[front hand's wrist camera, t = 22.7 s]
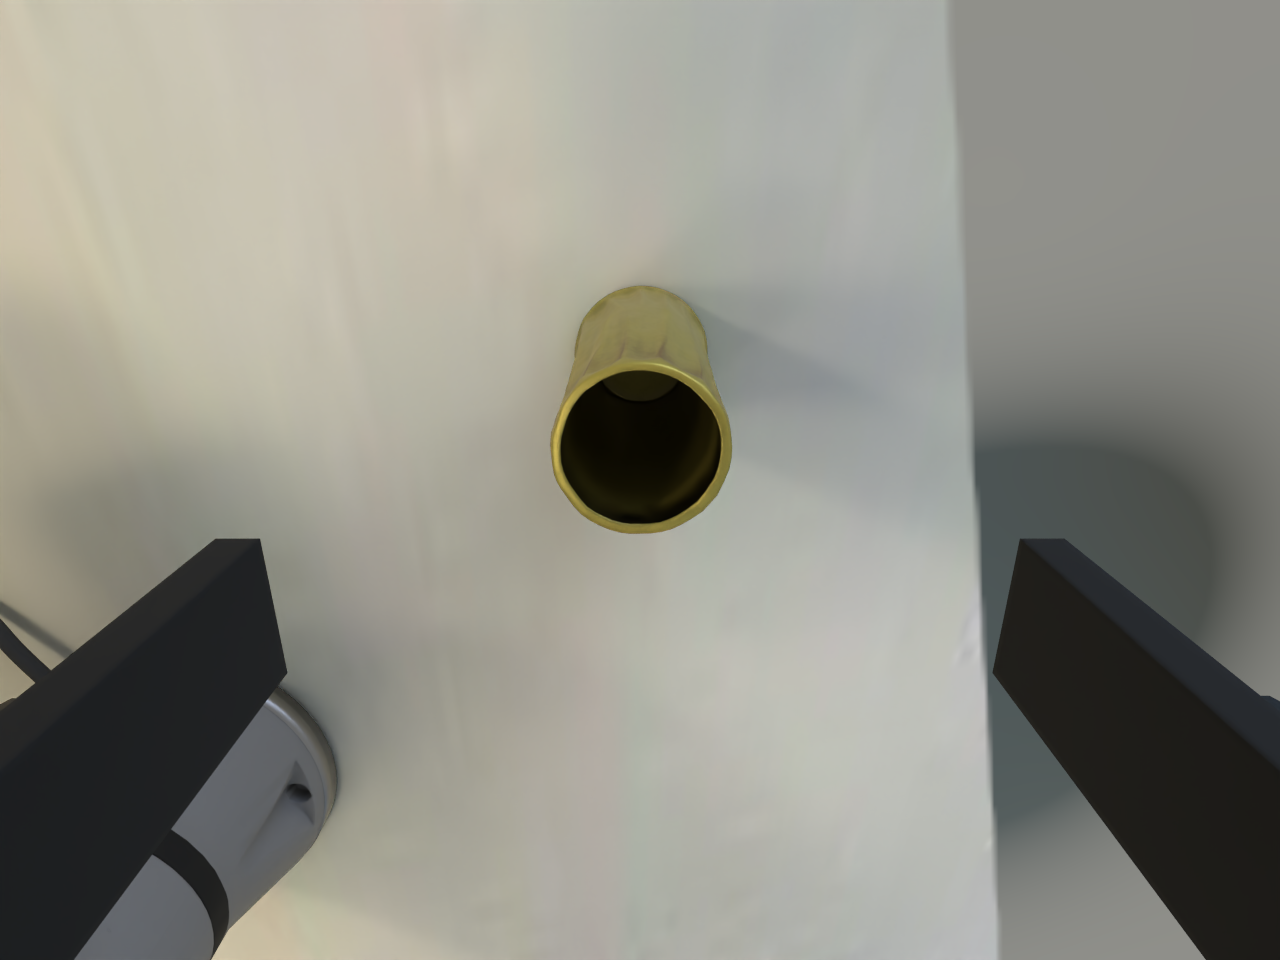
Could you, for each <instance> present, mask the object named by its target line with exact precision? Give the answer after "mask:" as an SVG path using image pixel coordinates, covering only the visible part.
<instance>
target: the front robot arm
mask: <svg viewBox="0 0 1280 960" xmlns="http://www.w3.org/2000/svg"><path fill="white" fill-rule="evenodd" d="M0 649H1V650H2V651H3V652H4V653H5V654H6V655H7V656H8V657H9V658H10V659H11V660H12V661H13V662H14V663H15V664H16V665H17V666H18V667H19V668H20V669H21V670H22V671H23V672H24V673H26V674H27V675H28V676H29V677H30V678H31V679H32V680H33V681H34V682H35V684H34V685H32V686H31V687H30V688H29V689H27V690H26V691H25V692H24V693H22V694H21V695H20V696H19V697H18V698H11V699H10V700H8V701H6V702H4V703H2V704H0V960H211V959H212V957H213V955H214V954H215V952H216V950H217V948H218V947H219V945H220V943H221V941H222V940H223V938H224V936H225V935H226V933H227V931H228V930H229V928H230V927H232V926H233V925H234V924H235V923H236V922H237V921H238V920H239V919H240V918H241V917H242V916H243V915H244V914H245V913H246V912H247V911H248V910H249V909H250V908H251V907H252V906H253V905H254V904H255V903H256V902H257V901H258V900H259V899H260V898H261V897H262V896H263V895H264V894H266V893H267V892H268V891H269V890H270V889H271V888H272V887H273V886H274V885H275V884H276V883H277V882H278V881H279V880H280V879H281V878H282V877H283V876H284V875H285V874H286V873H287V872H288V871H289V870H290V869H291V868H292V867H293V866H294V865H295V864H296V863H297V862H298V861H299V860H300V859H301V858H302V857H303V856H304V854H305V853H306V852H307V851H308V850H309V849H310V848H311V846H312V845H313V843H314V842H315V840H316V839H317V837H318V835H319V833H320V831H321V829H322V827H323V825H324V823H325V821H326V819H327V817H328V815H329V813H330V811H331V809H332V806H333V803H334V800H335V795H336V786H337V776H336V768H335V763H334V759H333V755H332V752H331V749H330V747H329V745H328V743H327V740H326V739H325V737H324V735H323V733H322V732H321V730H320V728H319V727H318V726H317V724H316V723H315V721H314V720H313V719H312V718H311V716H310V715H309V714H308V713H307V712H306V711H305V710H304V709H303V708H302V707H301V706H300V705H299V704H298V703H297V702H296V701H295V700H294V699H293V698H292V697H290V696H289V695H288V694H287V693H286V692H284V691H283V690H281V689H280V688H278V687H277V686H278V685H279V683H280V682H281V681H282V679H283V678H284V677H285V675H286V674H287V668H286V663H285V659H284V654H283V649H282V644H281V639H280V634H279V629H278V624H277V619H276V615H275V610H274V605H273V600H272V595H271V590H270V585H269V580H268V576H267V571H266V566H265V561H264V556H263V551H262V546H261V541H260V539H215V540H213V541H212V542H211V543H210V544H208V545H207V546H206V547H205V548H203V549H202V550H201V551H200V552H198V553H197V554H196V555H195V556H193V557H192V558H191V559H190V560H188V561H187V562H186V563H185V564H183V565H182V566H181V567H180V568H178V569H177V570H176V571H175V572H173V573H172V574H171V575H170V576H168V577H167V578H166V579H165V580H164V581H162V582H161V583H160V584H159V585H157V586H156V587H155V588H154V589H152V590H151V591H150V592H149V593H147V594H146V595H145V596H144V597H142V598H141V599H140V600H139V601H137V602H136V603H135V604H134V605H132V606H131V607H130V608H129V609H127V610H126V611H125V612H124V613H122V614H121V615H120V616H119V617H117V618H116V619H115V620H114V621H112V622H111V623H110V624H109V625H107V626H106V627H105V628H104V629H102V630H101V631H100V632H99V633H97V634H96V635H95V636H94V637H92V638H91V639H90V640H89V641H87V642H86V643H85V644H84V645H82V646H81V647H80V648H79V649H77V650H76V651H75V652H74V653H72V654H71V655H70V656H69V657H67V658H66V659H65V660H64V661H62V662H61V663H60V664H59V665H57V666H56V667H55V668H54V669H52V670H50V669H49V668H48V667H46V666H45V665H44V664H43V663H42V662H41V661H40V660H39V659H38V658H37V657H36V656H35V655H34V654H33V653H32V652H31V651H29V650H28V649H27V648H26V647H25V646H24V644H23V643H22V642H21V641H20V640H19V639H18V638H17V637H16V636H15V635H14V634H13V632H12V631H11V630H10V629H9V628H8V627H7V626H6V625H5V623H4V622H3V621H2V620H1V619H0ZM993 674H994V675H995V677H996V678H997V679H998V681H999V682H1000V683H1001V685H1002V686H1003V687H1004V689H1005V690H1006V691H1007V693H1008V694H1009V696H1010V697H1011V698H1012V700H1013V701H1014V702H1015V704H1016V705H1017V706H1018V708H1019V709H1020V710H1021V712H1022V713H1023V714H1024V716H1025V717H1026V718H1027V720H1028V721H1029V722H1030V724H1031V725H1032V726H1033V728H1034V729H1035V731H1036V732H1037V733H1038V734H1039V736H1040V737H1041V738H1042V740H1043V741H1044V743H1045V744H1046V745H1047V747H1048V748H1049V749H1050V751H1051V752H1052V753H1053V755H1054V756H1055V757H1056V759H1057V760H1058V761H1059V763H1060V764H1061V765H1062V767H1063V768H1064V770H1065V771H1066V772H1067V774H1068V775H1069V776H1070V778H1071V779H1072V780H1073V781H1074V783H1075V784H1076V786H1077V787H1078V788H1079V790H1080V791H1081V792H1082V794H1083V795H1084V796H1085V798H1086V799H1087V800H1088V802H1089V803H1090V804H1091V806H1092V807H1093V809H1094V810H1095V811H1096V813H1097V814H1098V815H1099V817H1100V818H1101V819H1102V821H1103V822H1104V823H1105V825H1106V826H1107V827H1108V829H1109V830H1110V831H1111V833H1112V834H1113V835H1114V837H1115V838H1116V839H1117V841H1118V842H1119V843H1120V845H1121V846H1122V848H1123V849H1124V850H1125V851H1126V853H1127V854H1128V856H1129V857H1130V858H1131V860H1132V861H1133V862H1134V864H1135V865H1136V866H1137V868H1138V869H1139V870H1140V872H1141V873H1142V874H1143V876H1144V877H1145V878H1146V880H1147V881H1148V882H1149V884H1150V885H1151V887H1152V888H1153V889H1154V890H1155V892H1156V893H1157V895H1158V896H1159V897H1160V899H1161V900H1162V901H1163V903H1164V904H1165V905H1166V907H1167V908H1168V909H1169V911H1170V912H1171V913H1172V915H1173V916H1174V917H1175V919H1176V920H1177V921H1178V923H1179V924H1180V925H1181V927H1182V928H1183V930H1184V931H1185V932H1186V934H1187V935H1188V936H1189V938H1190V939H1191V940H1192V942H1193V943H1194V944H1195V946H1196V947H1197V948H1198V950H1199V951H1200V952H1201V954H1202V955H1203V956H1204V958H1205V959H1206V960H1280V701H1278V700H1276V699H1274V698H1272V697H1271V696H1260V695H1259V694H1258V693H1256V692H1255V691H1254V690H1253V689H1251V688H1250V687H1249V686H1247V685H1246V684H1245V683H1244V682H1243V681H1241V680H1240V679H1239V678H1238V677H1236V676H1235V675H1234V674H1233V673H1231V672H1230V671H1229V670H1228V669H1226V668H1225V667H1224V666H1222V665H1221V664H1220V663H1219V662H1218V661H1216V660H1215V659H1214V658H1213V657H1211V656H1210V655H1209V654H1208V653H1206V652H1205V651H1204V650H1203V649H1201V648H1200V647H1199V646H1198V645H1196V644H1195V643H1194V642H1193V641H1191V640H1190V639H1189V638H1188V637H1186V636H1185V635H1184V634H1183V633H1181V632H1180V631H1179V630H1178V629H1176V628H1175V627H1174V626H1173V625H1171V624H1170V623H1169V622H1168V621H1166V620H1165V619H1164V618H1163V617H1161V616H1160V615H1159V614H1158V613H1156V612H1155V611H1154V610H1153V609H1151V608H1150V607H1149V606H1148V605H1146V604H1145V603H1144V602H1143V601H1141V600H1140V599H1139V598H1138V597H1136V596H1135V595H1134V594H1133V593H1131V592H1130V591H1129V590H1128V589H1126V588H1125V587H1124V586H1123V585H1121V584H1120V583H1119V582H1118V581H1116V580H1115V579H1114V578H1113V577H1112V576H1110V575H1109V574H1108V573H1106V572H1105V571H1104V570H1103V569H1102V568H1100V567H1099V566H1098V565H1097V564H1095V563H1094V562H1093V561H1092V560H1090V559H1089V558H1088V557H1086V556H1085V555H1084V554H1083V553H1082V552H1080V551H1079V550H1078V549H1077V548H1075V547H1074V546H1073V545H1072V544H1070V543H1069V542H1068V541H1067V540H1065V539H1020V542H1019V546H1018V551H1017V556H1016V561H1015V566H1014V571H1013V576H1012V581H1011V585H1010V590H1009V595H1008V600H1007V605H1006V610H1005V615H1004V620H1003V624H1002V629H1001V634H1000V639H999V644H998V649H997V654H996V659H995V663H994V668H993Z"/></svg>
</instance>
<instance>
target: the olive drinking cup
mask: <svg viewBox="0 0 1280 960" xmlns="http://www.w3.org/2000/svg"><path fill="white" fill-rule="evenodd" d="M550 447H551V456H552V465H553V471H554V475H555V478H556V480H557V483H558V484H559V486H560V488H561V489H562V491H563V492H564V494H565V495H566V496H567V498H568V499H569V501H570V502H571V503H572V505H573V506H574V507H575V508H576V509H577V510H578V511H579V512H580V513H581V514H582V515H583V516H584V517H586V518H587V519H589V520H590V521H592V522H594V523H596V524H598V525H600V526H602V527H605V528H607V529H610V530H613V531H617V532H621V533H629V534H640V533H656V532H663V531H666V530H670V529H673V528H675V527H677V526H679V525H681V524H683V523H685V522H687V521H688V520H690V519H692V518H693V517H695V516H696V515H698V514H699V513H701V512H702V511H703V510H704V509H705V508H706V507H707V506H708V505H709V504H710V503H711V502H712V501H713V499H714V498H715V497H716V496H717V495H718V493H719V491H720V489H721V486H722V484H723V482H724V480H725V478H726V475H727V473H728V471H729V468H730V463H731V457H732V440H731V431H730V424H729V419H728V415H727V413H726V410H725V408H724V405H723V403H722V400H721V397H720V395H719V392H718V389H717V387H716V384H715V381H714V377H713V373H712V370H711V367H710V364H709V360H708V356H707V341H706V336H705V331H704V329H703V327H702V324H701V322H700V321H699V319H698V317H697V316H696V314H695V313H694V312H693V310H692V309H691V308H690V307H689V306H688V305H687V304H686V303H685V302H684V301H683V300H681V299H680V298H679V297H677V296H675V295H674V294H672V293H670V292H667V291H665V290H662V289H659V288H655V287H649V286H635V287H628V288H624V289H621V290H618V291H615V292H613V293H611V294H609V295H607V296H606V297H604V298H603V299H601V300H600V301H599V302H598V303H597V304H596V305H595V306H594V307H593V308H592V309H591V310H590V311H589V312H588V314H587V315H586V316H585V318H584V319H583V321H582V323H581V326H580V329H579V332H578V336H577V340H576V346H575V361H574V364H573V367H572V371H571V375H570V378H569V381H568V384H567V388H566V392H565V396H564V398H563V401H562V403H561V406H560V409H559V412H558V414H557V416H556V419H555V423H554V426H553V429H552V432H551V442H550Z"/></svg>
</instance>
